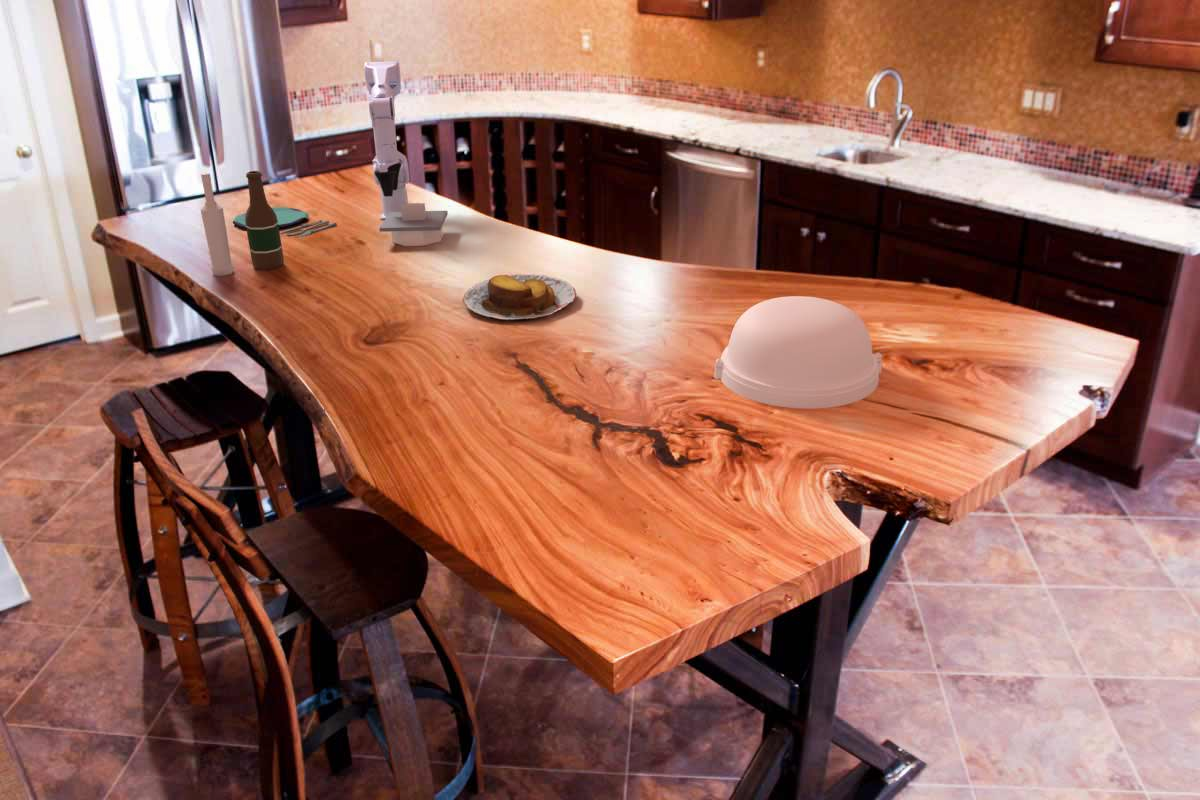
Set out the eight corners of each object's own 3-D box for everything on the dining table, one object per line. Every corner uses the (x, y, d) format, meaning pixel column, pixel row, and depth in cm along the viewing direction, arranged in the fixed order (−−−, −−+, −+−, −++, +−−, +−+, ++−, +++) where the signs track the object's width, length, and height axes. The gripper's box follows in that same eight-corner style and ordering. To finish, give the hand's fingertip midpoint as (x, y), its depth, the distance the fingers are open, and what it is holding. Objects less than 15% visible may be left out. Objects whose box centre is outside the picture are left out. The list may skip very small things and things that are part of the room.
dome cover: (860, 343, 215) (866, 277, 209) (904, 406, 188) (913, 332, 182) (703, 348, 214) (705, 282, 208) (725, 413, 187) (728, 339, 181)
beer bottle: (252, 263, 271) (236, 170, 261) (283, 259, 273) (269, 167, 263) (253, 272, 264) (236, 176, 254) (285, 268, 267) (270, 174, 256)
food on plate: (593, 294, 245) (592, 267, 242) (545, 331, 225) (544, 302, 222) (497, 281, 255) (495, 255, 252) (443, 316, 234) (440, 288, 231)
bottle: (237, 269, 266) (220, 171, 256) (229, 276, 262) (211, 176, 251) (217, 269, 267) (199, 171, 256) (209, 276, 262) (190, 176, 252)
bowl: (398, 232, 294) (396, 216, 292) (444, 231, 294) (443, 215, 292) (390, 246, 282) (388, 229, 280) (438, 245, 282) (437, 228, 280)
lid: (390, 215, 293) (388, 197, 291) (447, 214, 293) (446, 196, 291) (379, 231, 279) (377, 213, 277) (440, 230, 279) (438, 211, 277)
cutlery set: (278, 210, 319) (277, 202, 318) (344, 226, 303) (343, 218, 302) (221, 226, 305) (220, 218, 304) (287, 244, 289) (286, 236, 288)
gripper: (375, 138, 293) (381, 187, 299) (365, 148, 280) (371, 199, 285) (401, 138, 293) (406, 186, 299) (392, 148, 280) (397, 198, 285)
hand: (390, 193), depth 292 cm, fingers open, 7 cm apart
